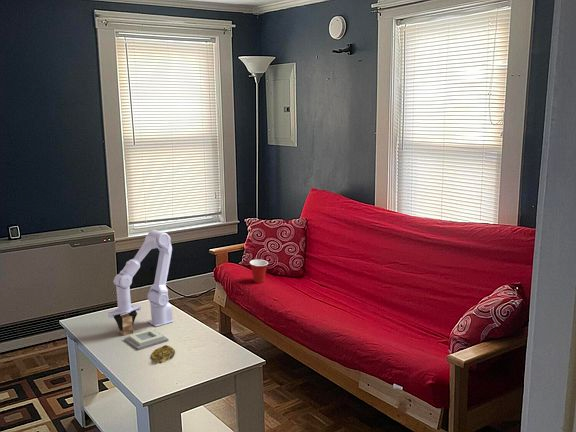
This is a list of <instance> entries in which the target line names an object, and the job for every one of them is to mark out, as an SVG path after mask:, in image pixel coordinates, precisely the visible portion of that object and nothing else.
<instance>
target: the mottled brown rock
mask: <svg viewBox="0 0 576 432" xmlns="http://www.w3.org/2000/svg"><path fill="white" fill-rule="evenodd" d="M152 351H153V352H152V353H151V360H152V362H155V363H157V364H162V363H166V362H169V361H170V360H172V359H173V358H174V356H175V354H176V350H175V349H174V347H172V346H170V345H167V344H165V345H163V346H160V347H158V348H155V350H152Z"/></svg>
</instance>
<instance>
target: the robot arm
mask: <svg viewBox="0 0 576 432" xmlns="http://www.w3.org/2000/svg"><path fill="white" fill-rule="evenodd" d="M171 239H172V238H171V236H170V235H169V234H168V233H166V232H163V231H159V230H158V229H152V230H150V231H149V232H148V233H147V235H146V236H145V239H144V242H143V243H142V245H141V247H140V248H139V249H138V251H137V253H136V254H135V255H134V257H133V258H132V259H129V260H128V261H126V263H125V266H124V267H123V269H121V270H120V271H119V273H118V274H116V275H115V276H114V279H113V280H112V282H113V284H114V286H115V288H116V289H115V291H116V301H117V309H114V310H112V311H110V312H108V313H107V314H108V316H107V317H108V318H110V319H111V318H114V319H113V320H115V322H116V324H117V327H118V330H120V331H122V317H121V316H120V315H124V314H129V315H131V316H132V323H133V325H134V324H135V320H136V317H137V315H138V312H137V311H142V309H141V305H140V304H137V305H132V299H131V291H130V290H131V287H130V286H131V285H132V283H133V277H134V276H135V275H136V274H137V272H138V271H139V269H140V268H141V262H142V261H143V260H144V259H145V257H146V256H147V255H148V254H149V252H151V250H153V249H158V251H159V253H158V258H157V265H156V270H155V276H154V282H153V284H152V285H151V286H150V288H149V291H148V292H147V300H148V301H149V304H150V318H151V319H149V320H148V323H149V324H151V325H152V326H154V327H160V326H164V325H167V324H170V323H174V318H173V306H172V305H171V303H170V302H169V289H168V287H167V282H168V281H167V279H168V275H169V269H170V264H171V258H172V252H173V246H172V242H171ZM120 331H119V332H120Z"/></svg>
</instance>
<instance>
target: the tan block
mask: <svg viewBox="0 0 576 432" xmlns="http://www.w3.org/2000/svg"><path fill="white" fill-rule="evenodd" d="M120 316H121V317H122V331H120V330H119V329H118V330H119V334H121V335H122V336H127V335H128V336H129V335H132V334H134V324H133V323H132V316H131V315H129V314H128V313H127V314H126V313H125V314H122V315H120Z"/></svg>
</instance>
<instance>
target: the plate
mask: <svg viewBox="0 0 576 432" xmlns="http://www.w3.org/2000/svg"><path fill="white" fill-rule="evenodd" d="M124 341H125V342H127V343H128V344H129V345H130V346H132V347H133V348H135V349H136V350H137V351H141V350H144V349H147V348H150V347H153V346H157V345H160V344H163V343H166V342H169V338H168V337H166V336H165V335H164V334H161V333H160V332H158V331H157V330H155V329H153V328H149V329H146V330H142V331H139V332H136V333H131V334H128V336H126V337H124Z"/></svg>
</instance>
